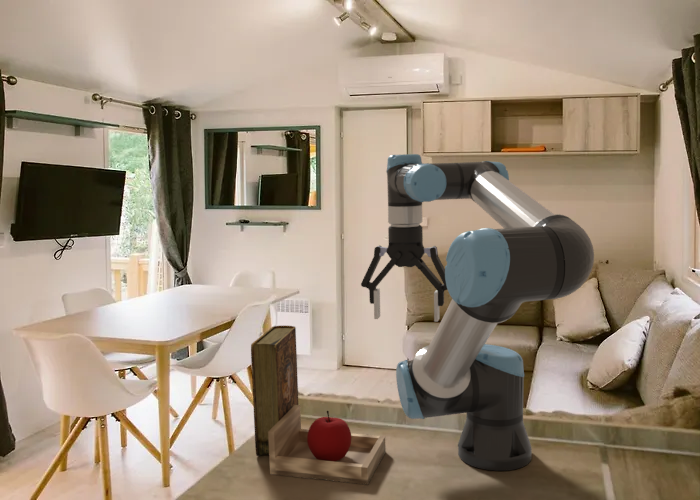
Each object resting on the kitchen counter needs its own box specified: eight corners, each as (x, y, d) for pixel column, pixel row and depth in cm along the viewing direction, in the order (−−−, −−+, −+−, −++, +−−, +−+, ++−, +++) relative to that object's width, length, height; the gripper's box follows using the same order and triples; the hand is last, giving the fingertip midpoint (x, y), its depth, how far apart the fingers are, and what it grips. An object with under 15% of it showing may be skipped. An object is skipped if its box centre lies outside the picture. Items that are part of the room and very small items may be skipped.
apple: (300, 464, 143) (298, 417, 142) (317, 446, 151) (316, 402, 150) (342, 470, 140) (341, 422, 138) (357, 451, 148) (356, 406, 147)
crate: (385, 451, 150) (384, 411, 149) (367, 484, 136) (366, 440, 134) (296, 443, 156) (295, 404, 155) (270, 474, 141) (268, 431, 140)
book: (278, 428, 165) (274, 325, 161) (301, 429, 164) (297, 325, 160) (255, 458, 149) (250, 344, 145) (280, 459, 148) (275, 345, 144)
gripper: (464, 223, 154) (464, 317, 157) (355, 222, 161) (357, 313, 164) (460, 226, 147) (460, 325, 149) (346, 226, 153) (348, 320, 156)
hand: (406, 319), depth 157 cm, fingers open, 13 cm apart
